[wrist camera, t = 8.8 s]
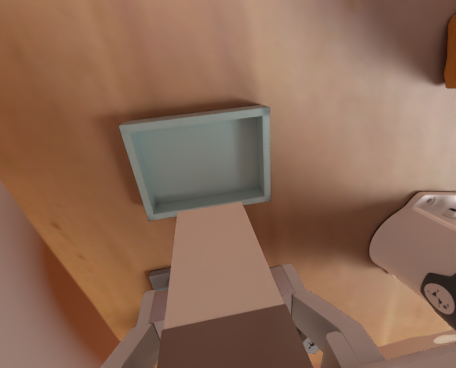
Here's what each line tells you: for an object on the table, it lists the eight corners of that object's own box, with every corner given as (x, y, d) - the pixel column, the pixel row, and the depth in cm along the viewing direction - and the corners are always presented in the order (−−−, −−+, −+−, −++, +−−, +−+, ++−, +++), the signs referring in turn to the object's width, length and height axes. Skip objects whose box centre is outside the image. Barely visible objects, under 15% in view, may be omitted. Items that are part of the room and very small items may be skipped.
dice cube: (316, 313, 45) (329, 338, 41) (303, 328, 47) (315, 353, 43) (297, 309, 44) (309, 335, 39) (284, 325, 46) (294, 351, 41)
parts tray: (261, 104, 26) (269, 107, 23) (263, 190, 31) (270, 200, 28) (126, 120, 24) (118, 125, 22) (152, 208, 29) (148, 221, 27)
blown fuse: (242, 200, 13) (316, 377, 5) (246, 250, 15) (307, 438, 7) (176, 211, 13) (150, 417, 5) (188, 261, 15) (183, 473, 7)
